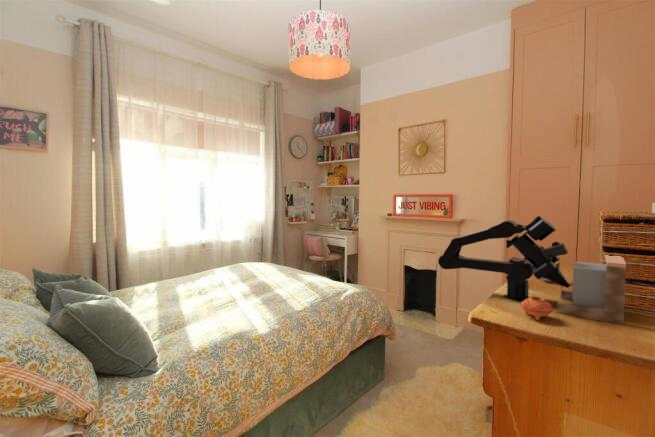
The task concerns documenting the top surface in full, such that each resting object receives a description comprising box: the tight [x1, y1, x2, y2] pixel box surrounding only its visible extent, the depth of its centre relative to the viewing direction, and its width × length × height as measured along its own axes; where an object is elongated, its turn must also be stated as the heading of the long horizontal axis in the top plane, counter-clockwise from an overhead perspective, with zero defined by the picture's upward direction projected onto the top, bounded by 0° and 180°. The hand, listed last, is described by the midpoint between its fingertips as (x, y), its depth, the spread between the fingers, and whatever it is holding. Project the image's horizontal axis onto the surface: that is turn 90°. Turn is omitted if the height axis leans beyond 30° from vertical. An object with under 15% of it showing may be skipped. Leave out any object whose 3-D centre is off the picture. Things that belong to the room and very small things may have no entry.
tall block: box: [571, 261, 606, 309], centre depth 99 cm, size 9×11×14 cm
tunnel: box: [556, 254, 627, 325], centre depth 99 cm, size 15×18×17 cm
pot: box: [520, 295, 554, 321], centre depth 94 cm, size 8×8×7 cm
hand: (568, 286), depth 102 cm, fingers closed
